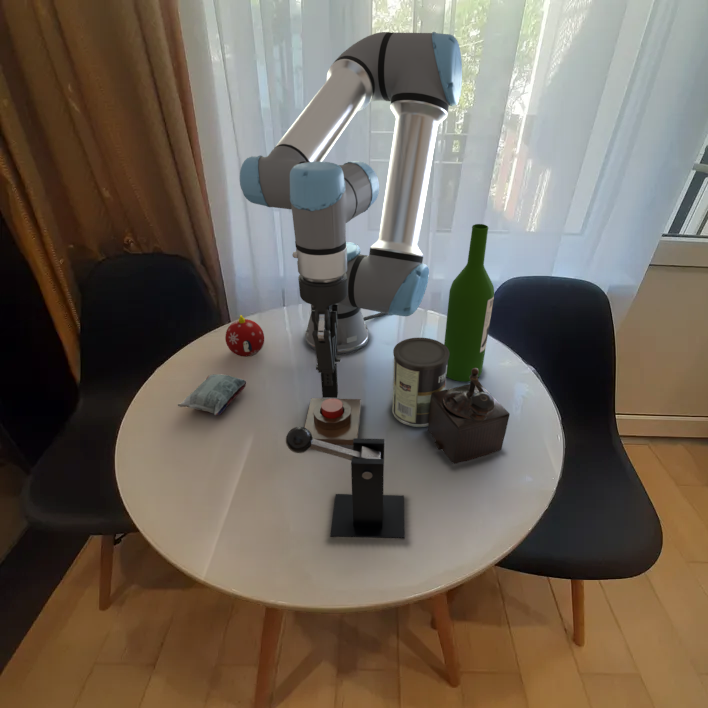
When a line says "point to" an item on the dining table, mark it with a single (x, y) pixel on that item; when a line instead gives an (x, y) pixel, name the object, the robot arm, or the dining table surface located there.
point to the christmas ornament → (244, 337)
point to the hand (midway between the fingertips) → (330, 395)
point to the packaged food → (214, 393)
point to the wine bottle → (469, 311)
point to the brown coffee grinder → (467, 421)
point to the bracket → (368, 500)
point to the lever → (324, 446)
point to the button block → (334, 422)
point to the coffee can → (417, 378)
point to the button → (332, 408)
